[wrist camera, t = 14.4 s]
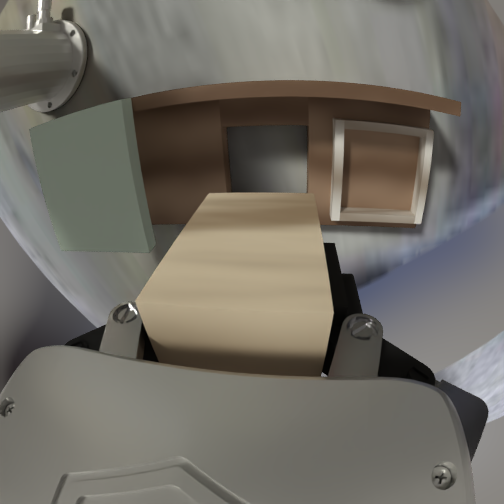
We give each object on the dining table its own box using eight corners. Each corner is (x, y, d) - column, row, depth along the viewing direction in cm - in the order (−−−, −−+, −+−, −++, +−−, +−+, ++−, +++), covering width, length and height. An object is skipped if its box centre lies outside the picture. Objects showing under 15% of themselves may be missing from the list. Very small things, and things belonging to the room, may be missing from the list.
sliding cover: (39, 125, 20) (29, 129, 19) (131, 97, 19) (121, 99, 18) (69, 243, 27) (61, 250, 26) (156, 244, 26) (149, 252, 24)
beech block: (208, 193, 14) (135, 301, 7) (313, 193, 13) (333, 313, 7) (219, 277, 17) (176, 400, 10) (308, 280, 16) (311, 412, 9)
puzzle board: (105, 107, 27) (58, 118, 20) (420, 95, 23) (461, 102, 16) (125, 216, 34) (90, 250, 27) (407, 218, 30) (435, 256, 23)
